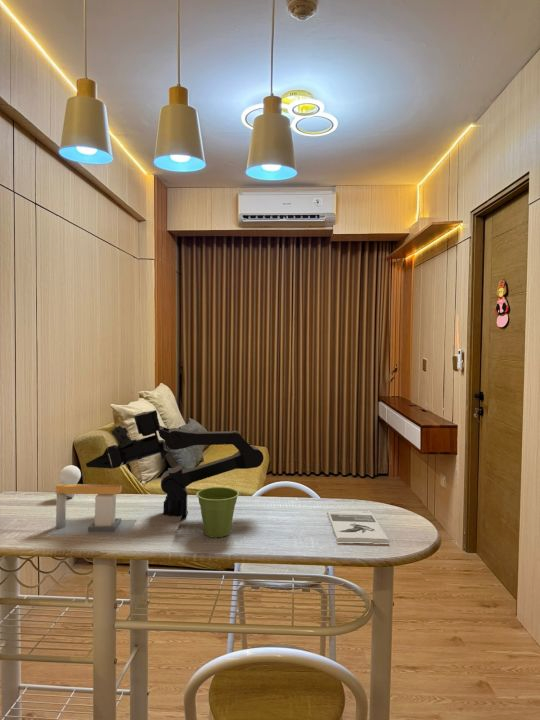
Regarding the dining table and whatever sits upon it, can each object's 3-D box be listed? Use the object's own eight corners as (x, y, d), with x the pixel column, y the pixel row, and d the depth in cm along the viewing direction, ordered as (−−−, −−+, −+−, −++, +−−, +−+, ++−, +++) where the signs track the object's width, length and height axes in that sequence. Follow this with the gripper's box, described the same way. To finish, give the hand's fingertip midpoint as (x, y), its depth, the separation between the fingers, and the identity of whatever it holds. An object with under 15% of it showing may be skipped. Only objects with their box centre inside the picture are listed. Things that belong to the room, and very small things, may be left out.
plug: (115, 524, 133) (116, 492, 133) (110, 529, 128) (111, 497, 128) (99, 524, 132) (100, 492, 132) (94, 529, 128) (95, 496, 128)
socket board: (137, 523, 137) (137, 487, 137) (127, 538, 125) (128, 500, 125) (63, 522, 135) (63, 487, 135) (46, 538, 123) (47, 499, 123)
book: (326, 516, 149) (327, 510, 149) (370, 517, 149) (370, 511, 149) (337, 545, 126) (337, 538, 126) (388, 546, 126) (388, 539, 126)
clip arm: (53, 494, 128) (53, 486, 128) (57, 490, 131) (58, 483, 131) (119, 494, 129) (119, 487, 129) (121, 491, 132) (122, 484, 132)
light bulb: (75, 501, 156) (75, 468, 155) (55, 500, 156) (56, 467, 156) (83, 495, 162) (84, 463, 162) (64, 494, 162) (65, 463, 162)
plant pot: (191, 528, 134) (192, 488, 134) (231, 524, 138) (232, 485, 138) (200, 544, 123) (201, 501, 123) (243, 538, 127) (244, 497, 127)
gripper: (138, 423, 151) (88, 438, 148) (132, 421, 133) (75, 437, 130) (147, 457, 150) (97, 472, 146) (142, 459, 132) (85, 477, 128)
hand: (89, 464), depth 138 cm, fingers open, 9 cm apart
